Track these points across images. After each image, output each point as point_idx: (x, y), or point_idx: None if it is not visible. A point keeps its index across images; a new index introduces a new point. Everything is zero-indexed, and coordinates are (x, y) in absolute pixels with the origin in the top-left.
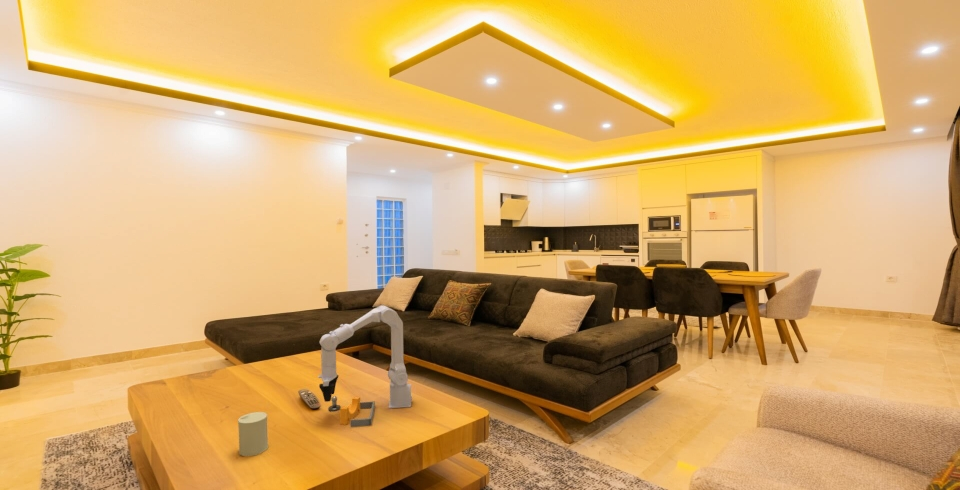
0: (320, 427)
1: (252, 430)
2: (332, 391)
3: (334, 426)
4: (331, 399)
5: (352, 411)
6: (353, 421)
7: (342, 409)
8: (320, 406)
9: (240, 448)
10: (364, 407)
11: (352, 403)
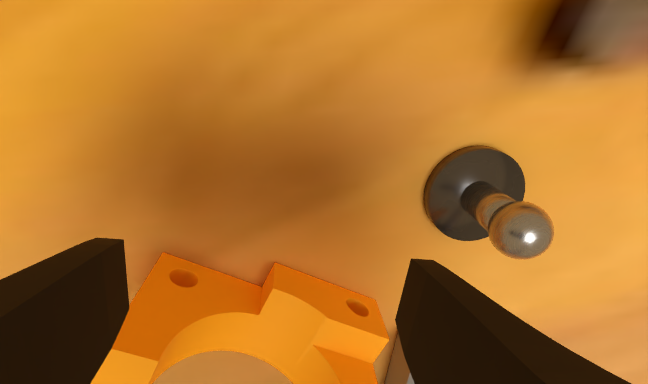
0: (122, 107)
1: None
2: (413, 338)
3: (128, 215)
4: (517, 207)
5: (271, 347)
6: None
7: None
8: (587, 71)
9: None
10: (389, 376)
11: (333, 380)
